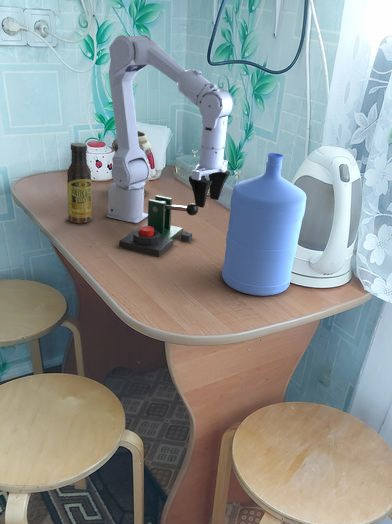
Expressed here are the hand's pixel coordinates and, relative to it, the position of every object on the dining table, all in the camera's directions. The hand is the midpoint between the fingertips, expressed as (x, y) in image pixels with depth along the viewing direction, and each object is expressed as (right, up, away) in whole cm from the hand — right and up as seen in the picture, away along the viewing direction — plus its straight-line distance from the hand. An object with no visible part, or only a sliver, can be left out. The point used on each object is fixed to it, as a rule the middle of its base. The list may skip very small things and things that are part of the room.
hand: (207, 202), depth 130 cm
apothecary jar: (-24, +12, +33) cm, 42 cm away
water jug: (+11, -22, -12) cm, 27 cm away
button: (-15, -9, -2) cm, 18 cm away
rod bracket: (-13, -6, +7) cm, 16 cm away
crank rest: (-5, -8, +5) cm, 11 cm away
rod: (-8, -2, +2) cm, 8 cm away
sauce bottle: (-34, -2, +10) cm, 36 cm away
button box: (-15, -11, -1) cm, 19 cm away
